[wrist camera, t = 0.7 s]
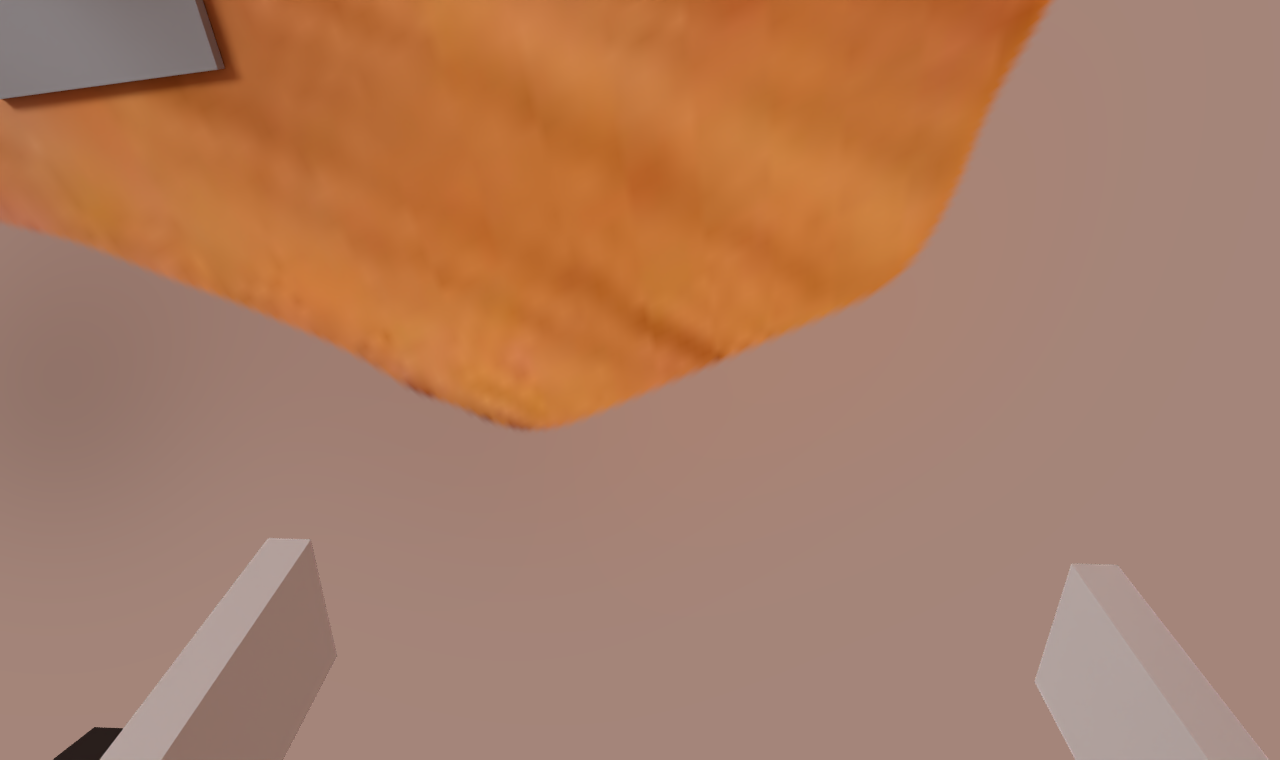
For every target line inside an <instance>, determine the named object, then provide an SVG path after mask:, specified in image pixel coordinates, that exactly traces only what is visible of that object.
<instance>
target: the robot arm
mask: <svg viewBox="0 0 1280 760" xmlns="http://www.w3.org/2000/svg"><path fill="white" fill-rule="evenodd" d="M336 657H337V654H336V649H335V645H334V640H333V636H332V631H331V627H330V623H329V618H328V614H327V609H326V605H325V600H324V596H323V592H322V587H321V582H320V578H319V573H318V569H317V565H316V560H315V556H314V552H313V547H312V543H311V540H310V539H280V538H279V539H278V538H268V539H267V540H266V542H265V543H264V544H263V546H262V547H261V548H260V550H259V551H258V552H257V554H256V555H255V556H254V557H253V559H252V560H251V561H250V563H249V564H248V565H247V567H246V568H245V569H244V571H243V572H242V573H241V575H240V576H239V577H238V578H237V580H236V581H235V582H234V584H233V585H232V586H231V588H230V589H229V590H228V592H227V593H226V594H225V596H224V597H223V598H222V599H221V601H220V602H219V603H218V605H217V606H216V607H215V609H214V610H213V611H212V613H211V614H210V615H209V617H208V618H207V619H206V621H205V622H204V623H203V625H202V626H201V627H200V628H199V630H198V631H197V632H196V634H195V635H194V636H193V638H192V639H191V640H190V642H189V643H188V644H187V646H186V647H185V648H184V649H183V651H182V652H181V653H180V655H179V656H178V657H177V659H176V660H175V661H174V663H173V664H172V665H171V667H170V668H169V669H168V671H167V672H166V673H165V675H164V676H163V677H162V679H161V680H160V681H159V682H158V684H157V685H156V686H155V688H154V689H153V690H152V692H151V693H150V694H149V696H148V697H147V698H146V700H145V701H144V702H143V703H142V705H141V706H140V707H139V709H138V710H137V711H136V713H135V714H134V715H133V717H132V718H131V719H130V721H129V722H128V723H127V724H126V726H125V727H124V728H100V727H99V728H98V727H94V728H93V729H92V730H90V731H89V732H88V733H86V734H85V735H84V736H83V737H81V738H80V739H79V740H78V741H76V742H75V743H74V744H72V745H71V746H70V747H68V748H67V749H66V750H65V751H63V752H62V753H61V754H59V755H58V756H57V757H56V758H54V760H283V759H284V757H285V755H286V753H287V751H288V749H289V747H290V745H291V743H292V741H293V739H294V738H295V736H296V734H297V732H298V730H299V728H300V726H301V724H302V722H303V720H304V718H305V716H306V714H307V712H308V711H309V708H310V707H311V705H312V703H313V701H314V699H315V697H316V695H317V693H318V691H319V689H320V687H321V686H322V684H323V681H324V680H325V678H326V676H327V674H328V672H329V670H330V668H331V666H332V664H333V662H334V661H335V658H336ZM1035 683H1036V686H1037V687H1038V689H1039V691H1040V693H1041V695H1042V697H1043V699H1044V701H1045V703H1046V705H1047V706H1048V708H1049V710H1050V712H1051V714H1052V716H1053V718H1054V719H1055V722H1056V724H1057V726H1058V728H1059V730H1060V732H1061V733H1062V735H1063V737H1064V739H1065V741H1066V743H1067V745H1068V746H1069V749H1070V751H1071V753H1072V755H1073V756H1074V758H1075V760H1269V759H1268V758H1267V757H1266V755H1265V754H1264V753H1263V751H1262V750H1261V749H1260V748H1259V746H1258V745H1257V744H1256V742H1255V741H1254V740H1253V739H1252V737H1251V736H1250V735H1249V733H1248V732H1247V731H1246V730H1245V728H1244V727H1243V726H1242V724H1241V723H1240V722H1239V721H1238V719H1237V718H1236V717H1235V716H1234V714H1233V713H1232V712H1231V710H1230V709H1229V708H1228V706H1227V705H1226V704H1225V703H1224V701H1223V700H1222V699H1221V698H1220V696H1219V695H1218V694H1217V692H1216V691H1215V690H1214V688H1213V687H1212V686H1211V684H1210V683H1209V682H1208V681H1207V679H1206V678H1205V677H1204V675H1203V674H1202V673H1201V672H1200V670H1199V669H1198V668H1197V667H1196V665H1195V664H1194V663H1193V661H1192V660H1191V659H1190V658H1189V656H1188V655H1187V654H1186V652H1185V651H1184V650H1183V648H1182V647H1181V646H1180V645H1179V643H1178V642H1177V641H1176V639H1175V638H1174V637H1173V636H1172V635H1171V633H1170V632H1169V631H1168V629H1167V628H1166V627H1165V625H1164V624H1163V623H1162V622H1161V620H1160V619H1159V618H1158V616H1157V615H1156V614H1155V613H1154V611H1153V610H1152V609H1151V607H1150V606H1149V605H1148V604H1147V602H1146V601H1145V600H1144V598H1143V597H1142V596H1141V594H1140V593H1139V592H1138V591H1137V589H1136V588H1135V587H1134V585H1133V584H1132V583H1131V582H1130V580H1129V579H1128V578H1127V576H1126V575H1125V574H1124V573H1123V571H1122V570H1121V569H1120V567H1119V566H1118V565H1101V564H1099V565H1098V564H1071V567H1070V570H1069V573H1068V576H1067V580H1066V583H1065V586H1064V589H1063V593H1062V595H1061V599H1060V602H1059V605H1058V608H1057V611H1056V615H1055V618H1054V621H1053V624H1052V628H1051V631H1050V634H1049V637H1048V640H1047V643H1046V647H1045V650H1044V653H1043V656H1042V659H1041V662H1040V666H1039V669H1038V672H1037V675H1036V678H1035Z"/></svg>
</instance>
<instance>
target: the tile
mask: <svg viewBox="0 0 1280 760" xmlns="http://www.w3.org/2000/svg"><path fill="white" fill-rule="evenodd" d="M218 69H225V67H224V64H223V61H222V58H221V55H220V52H219V49H218V46H217V43H216V40H215V37H214V33H213V30H212V27H211V24H210V21H209V18H208V15H207V12H206V9H205V6H204V3H203V0H0V99H5V98H13V97H20V96H27V95H35V94H42V93H49V92H57V91H64V90H72V89H79V88H86V87H94V86H101V85H108V84H116V83H123V82H130V81H138V80H145V79H152V78H160V77H167V76H174V75H182V74H189V73H196V72H204V71H211V70H218Z"/></svg>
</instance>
